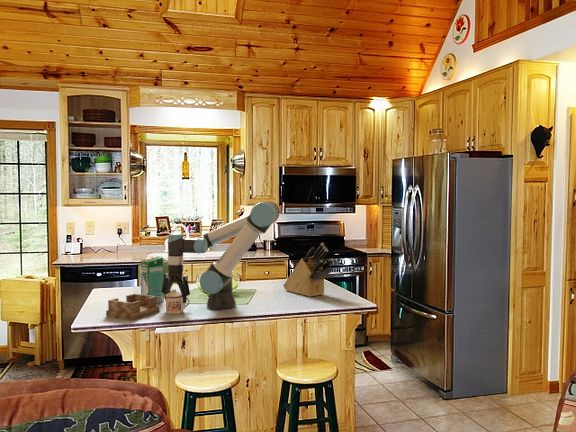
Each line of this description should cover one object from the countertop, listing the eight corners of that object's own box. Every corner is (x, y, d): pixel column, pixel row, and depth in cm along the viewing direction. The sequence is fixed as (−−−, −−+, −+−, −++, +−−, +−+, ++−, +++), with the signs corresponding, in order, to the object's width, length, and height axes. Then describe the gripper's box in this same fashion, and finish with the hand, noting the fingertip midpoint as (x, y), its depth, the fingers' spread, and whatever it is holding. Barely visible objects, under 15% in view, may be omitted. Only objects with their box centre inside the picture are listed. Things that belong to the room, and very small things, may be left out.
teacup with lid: (165, 315, 248) (165, 291, 248) (165, 310, 257) (164, 288, 257) (190, 313, 251) (189, 290, 251) (189, 309, 260) (188, 287, 260)
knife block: (319, 300, 279) (319, 244, 277) (282, 290, 307) (282, 240, 306) (335, 297, 286) (334, 243, 284) (297, 288, 314) (297, 238, 312)
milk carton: (140, 301, 279) (139, 256, 277) (155, 299, 285) (154, 255, 284) (149, 304, 272) (148, 258, 271) (163, 301, 279) (163, 256, 277)
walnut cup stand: (159, 311, 255) (159, 296, 255) (132, 320, 238) (131, 303, 238) (134, 308, 263) (133, 293, 262) (106, 316, 246) (105, 300, 246)
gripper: (197, 264, 252) (197, 309, 253) (163, 261, 262) (163, 303, 263) (188, 266, 245) (188, 312, 246) (153, 263, 255) (153, 306, 256)
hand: (175, 307), depth 255 cm, fingers open, 9 cm apart
